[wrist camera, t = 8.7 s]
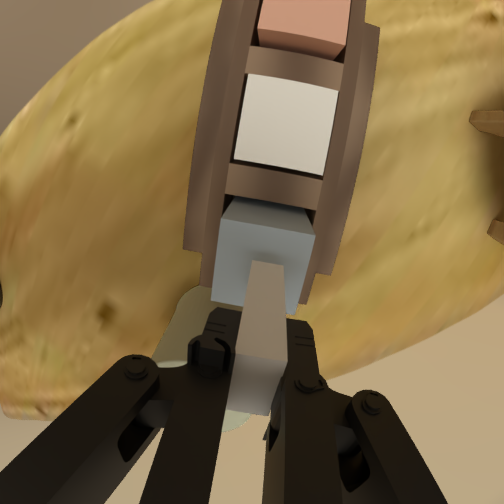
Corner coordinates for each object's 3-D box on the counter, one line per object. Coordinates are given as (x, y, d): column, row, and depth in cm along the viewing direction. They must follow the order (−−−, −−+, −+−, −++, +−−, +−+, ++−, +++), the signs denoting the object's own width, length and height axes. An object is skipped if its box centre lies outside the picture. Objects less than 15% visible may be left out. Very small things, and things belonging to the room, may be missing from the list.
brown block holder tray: (185, 245, 28) (160, 278, 21) (224, 2, 19) (209, -35, 12) (329, 270, 28) (343, 310, 21) (376, 31, 19) (405, 3, 12)
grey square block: (226, 257, 23) (210, 300, 17) (235, 195, 21) (220, 218, 15) (289, 268, 23) (294, 315, 17) (303, 207, 21) (315, 235, 15)
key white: (244, 153, 22) (233, 158, 16) (255, 92, 20) (248, 73, 14) (308, 165, 22) (322, 175, 16) (320, 104, 20) (338, 91, 14)
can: (160, 318, 31) (118, 396, 20) (210, 265, 28) (174, 343, 17) (223, 364, 33) (205, 447, 22) (278, 321, 30) (279, 411, 19)
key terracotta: (261, 57, 19) (257, 28, 13) (271, 6, 17) (270, -33, 11) (325, 69, 19) (345, 45, 13) (333, 18, 17) (352, -17, 11)
